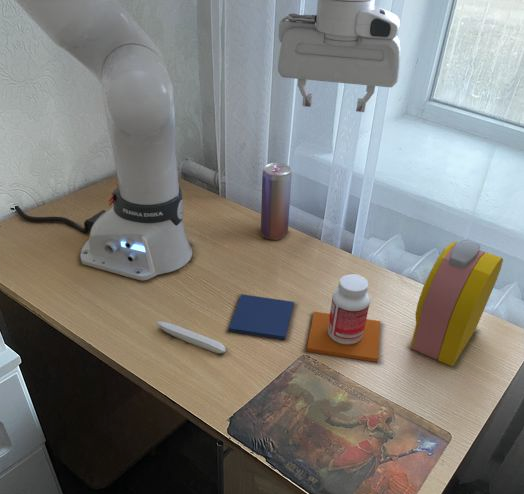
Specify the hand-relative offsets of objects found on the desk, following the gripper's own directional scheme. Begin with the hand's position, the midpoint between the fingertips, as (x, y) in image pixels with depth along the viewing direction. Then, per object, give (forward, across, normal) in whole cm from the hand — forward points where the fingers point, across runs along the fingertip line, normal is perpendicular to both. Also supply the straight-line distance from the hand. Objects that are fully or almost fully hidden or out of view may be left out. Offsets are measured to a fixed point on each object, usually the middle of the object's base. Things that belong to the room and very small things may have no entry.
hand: (333, 108), depth 94 cm
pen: (+29, -18, -34) cm, 48 cm away
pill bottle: (+28, +8, -27) cm, 40 cm away
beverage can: (+29, -10, +4) cm, 31 cm away
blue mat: (+29, -7, -25) cm, 39 cm away
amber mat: (+29, +8, -27) cm, 40 cm away
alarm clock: (+29, +25, -23) cm, 45 cm away
